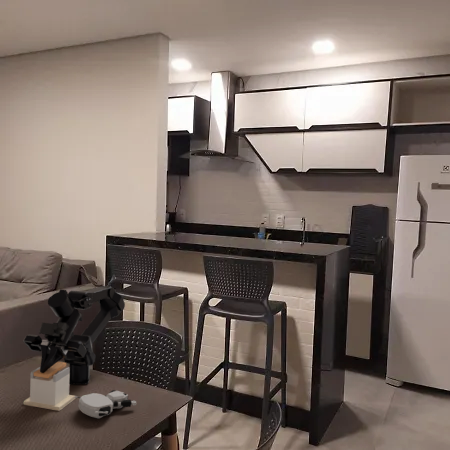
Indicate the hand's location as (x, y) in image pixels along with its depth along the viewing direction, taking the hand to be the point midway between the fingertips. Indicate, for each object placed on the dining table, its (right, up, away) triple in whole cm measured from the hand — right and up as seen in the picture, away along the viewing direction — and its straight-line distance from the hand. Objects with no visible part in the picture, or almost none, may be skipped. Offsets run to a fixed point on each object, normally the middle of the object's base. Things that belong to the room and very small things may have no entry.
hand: (41, 372), depth 127 cm
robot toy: (+18, -12, +1) cm, 22 cm away
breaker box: (+1, -10, +5) cm, 11 cm away
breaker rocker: (+1, -1, +4) cm, 4 cm away
